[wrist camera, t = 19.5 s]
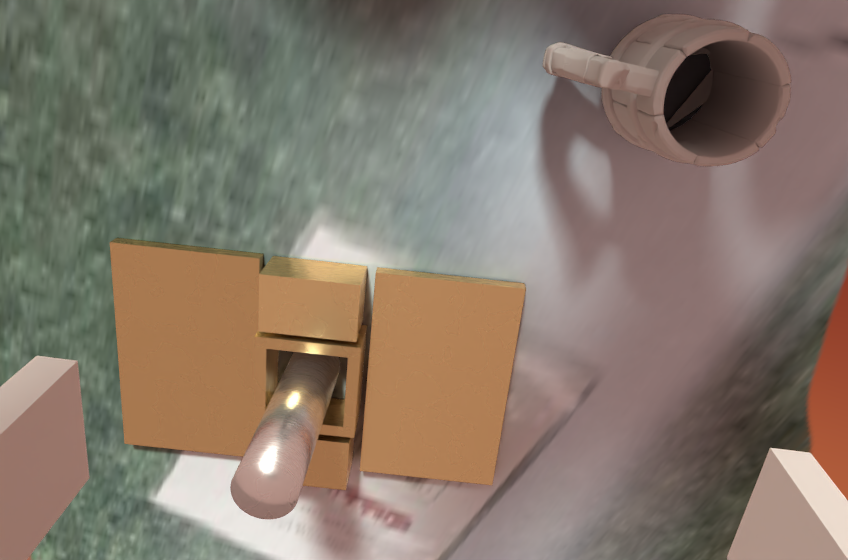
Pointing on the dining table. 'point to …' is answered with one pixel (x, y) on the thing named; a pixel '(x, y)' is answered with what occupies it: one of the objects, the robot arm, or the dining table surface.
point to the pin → (286, 438)
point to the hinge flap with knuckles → (411, 358)
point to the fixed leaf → (213, 356)
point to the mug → (718, 92)
